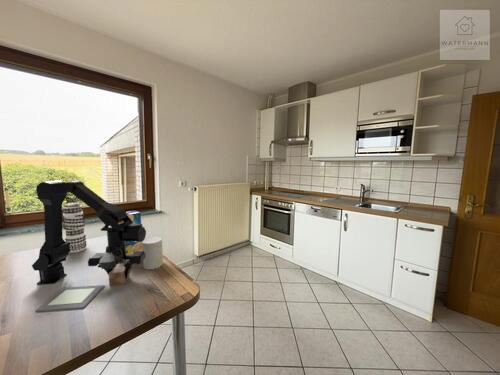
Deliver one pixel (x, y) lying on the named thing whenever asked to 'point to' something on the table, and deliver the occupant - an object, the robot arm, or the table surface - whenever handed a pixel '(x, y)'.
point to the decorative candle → (74, 227)
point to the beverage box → (133, 246)
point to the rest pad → (71, 298)
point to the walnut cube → (117, 276)
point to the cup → (152, 252)
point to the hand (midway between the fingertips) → (119, 278)
